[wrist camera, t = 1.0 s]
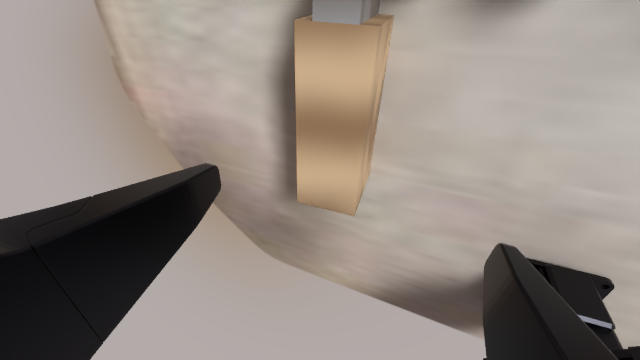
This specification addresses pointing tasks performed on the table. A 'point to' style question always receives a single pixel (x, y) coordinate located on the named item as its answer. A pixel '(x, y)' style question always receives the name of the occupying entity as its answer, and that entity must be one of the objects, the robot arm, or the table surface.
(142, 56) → the table surface
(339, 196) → the bed rail
